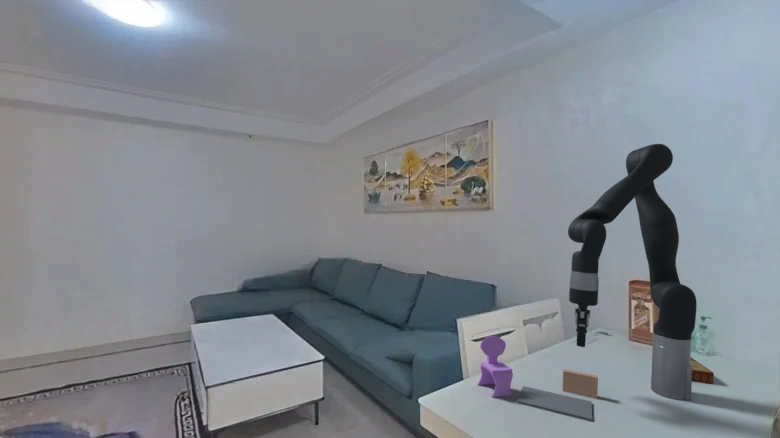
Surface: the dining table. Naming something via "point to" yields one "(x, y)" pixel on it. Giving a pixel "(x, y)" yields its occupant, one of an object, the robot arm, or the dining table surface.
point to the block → (580, 383)
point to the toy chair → (495, 367)
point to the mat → (556, 403)
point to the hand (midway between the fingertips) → (581, 342)
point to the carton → (701, 373)
